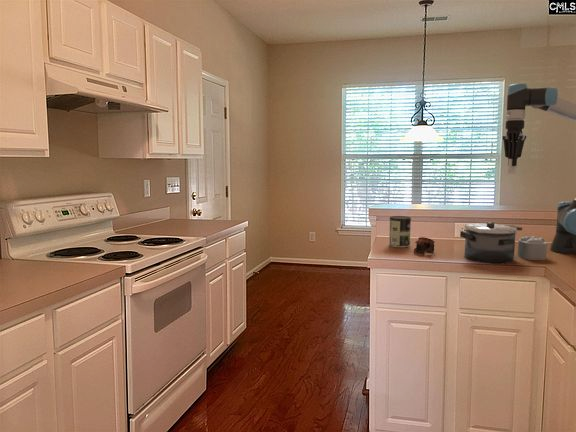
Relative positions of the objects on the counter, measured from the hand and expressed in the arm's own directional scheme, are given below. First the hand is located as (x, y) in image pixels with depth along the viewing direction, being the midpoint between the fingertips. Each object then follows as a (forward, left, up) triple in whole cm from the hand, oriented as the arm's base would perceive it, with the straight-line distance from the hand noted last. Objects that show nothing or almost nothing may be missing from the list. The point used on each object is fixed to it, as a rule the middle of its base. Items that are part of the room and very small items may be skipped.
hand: (511, 173), depth 217 cm
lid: (+14, +8, -24) cm, 29 cm away
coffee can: (+41, -26, -37) cm, 61 cm away
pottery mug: (+37, -8, -37) cm, 53 cm away
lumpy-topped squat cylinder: (-5, +9, -37) cm, 38 cm away
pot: (+16, +8, -36) cm, 41 cm away
